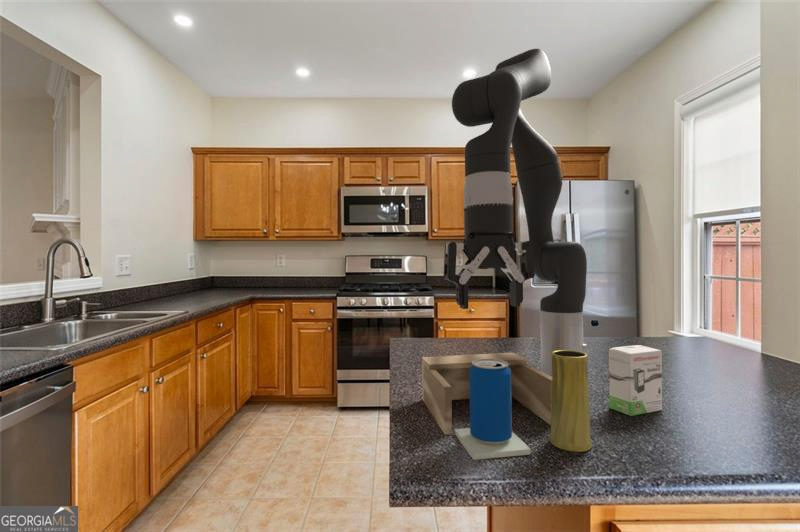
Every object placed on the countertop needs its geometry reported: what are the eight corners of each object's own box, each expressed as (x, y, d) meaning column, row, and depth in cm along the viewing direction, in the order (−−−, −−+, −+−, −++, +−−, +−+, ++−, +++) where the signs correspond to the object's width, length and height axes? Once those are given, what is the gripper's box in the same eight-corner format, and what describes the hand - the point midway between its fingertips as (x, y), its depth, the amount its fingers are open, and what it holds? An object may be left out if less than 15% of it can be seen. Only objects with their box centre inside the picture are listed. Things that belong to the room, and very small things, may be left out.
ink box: (630, 417, 73) (629, 353, 73) (607, 408, 78) (607, 347, 77) (663, 410, 76) (663, 349, 76) (639, 402, 81) (639, 344, 80)
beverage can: (513, 449, 59) (512, 369, 59) (469, 445, 61) (468, 367, 60) (510, 431, 66) (509, 358, 65) (470, 428, 67) (469, 357, 67)
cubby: (513, 393, 87) (513, 352, 87) (557, 425, 70) (556, 374, 70) (422, 399, 83) (422, 357, 83) (445, 434, 66) (444, 381, 66)
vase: (543, 436, 65) (542, 349, 65) (578, 434, 66) (577, 348, 66) (561, 453, 59) (560, 358, 59) (600, 451, 60) (599, 357, 60)
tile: (505, 429, 68) (505, 424, 68) (530, 454, 59) (530, 449, 59) (454, 433, 67) (454, 429, 67) (473, 459, 58) (473, 454, 58)
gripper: (519, 208, 67) (520, 303, 68) (438, 207, 65) (439, 306, 65) (542, 201, 60) (543, 308, 60) (451, 200, 58) (453, 312, 58)
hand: (489, 307), depth 63 cm, fingers open, 8 cm apart
